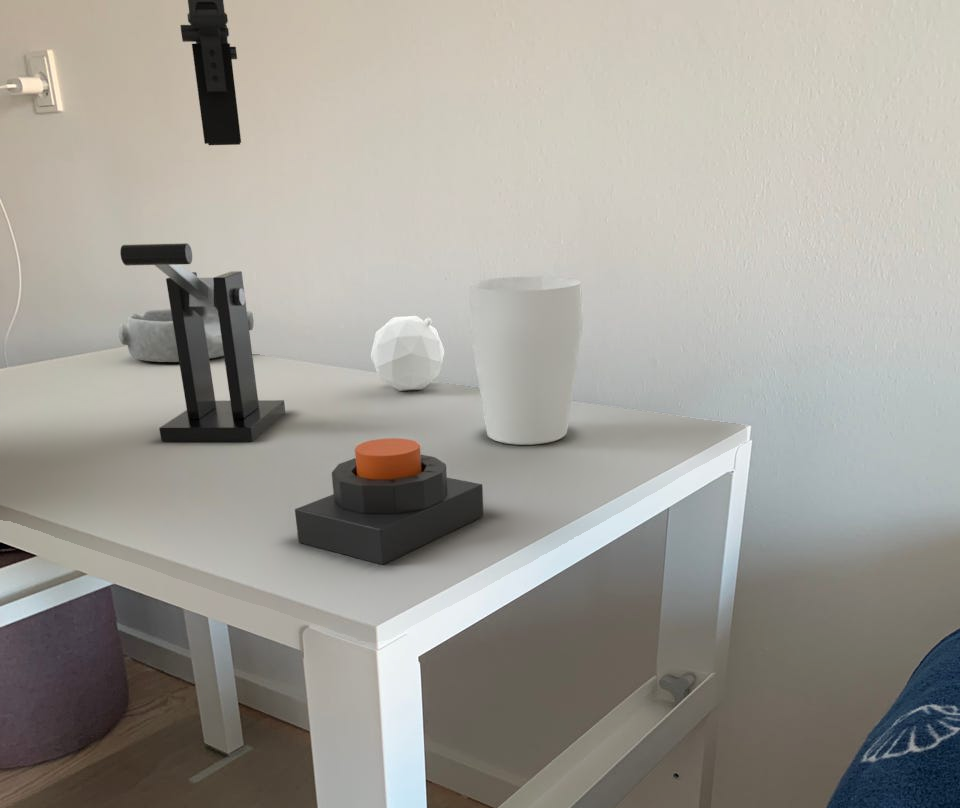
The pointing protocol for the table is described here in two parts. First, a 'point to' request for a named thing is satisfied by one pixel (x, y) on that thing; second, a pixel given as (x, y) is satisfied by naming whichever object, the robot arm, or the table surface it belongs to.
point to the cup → (526, 355)
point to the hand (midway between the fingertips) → (223, 144)
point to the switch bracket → (203, 413)
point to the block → (388, 512)
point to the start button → (388, 458)
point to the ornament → (407, 353)
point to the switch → (175, 272)
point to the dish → (166, 336)
